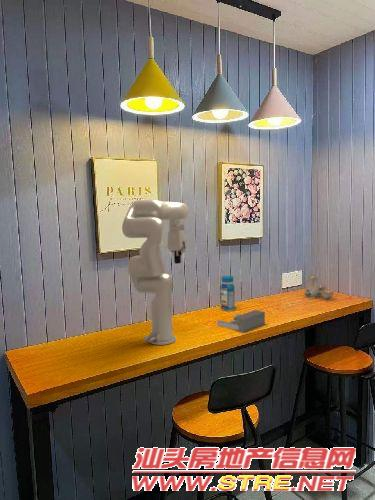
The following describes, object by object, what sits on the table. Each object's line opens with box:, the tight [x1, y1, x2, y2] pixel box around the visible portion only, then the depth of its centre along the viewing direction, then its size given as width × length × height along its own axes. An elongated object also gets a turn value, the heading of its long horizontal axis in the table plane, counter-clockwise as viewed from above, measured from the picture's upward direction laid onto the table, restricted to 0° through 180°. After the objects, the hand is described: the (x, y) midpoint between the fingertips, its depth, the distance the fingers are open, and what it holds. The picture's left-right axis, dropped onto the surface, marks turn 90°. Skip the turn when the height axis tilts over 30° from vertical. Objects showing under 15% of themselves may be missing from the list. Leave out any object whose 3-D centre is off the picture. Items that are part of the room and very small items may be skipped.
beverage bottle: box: [220, 275, 236, 312], centre depth 222 cm, size 8×8×20 cm
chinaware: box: [304, 272, 334, 301], centre depth 247 cm, size 28×17×17 cm, turn 0°
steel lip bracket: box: [216, 309, 266, 333], centre depth 191 cm, size 18×18×6 cm
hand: (177, 263), depth 196 cm, fingers closed
